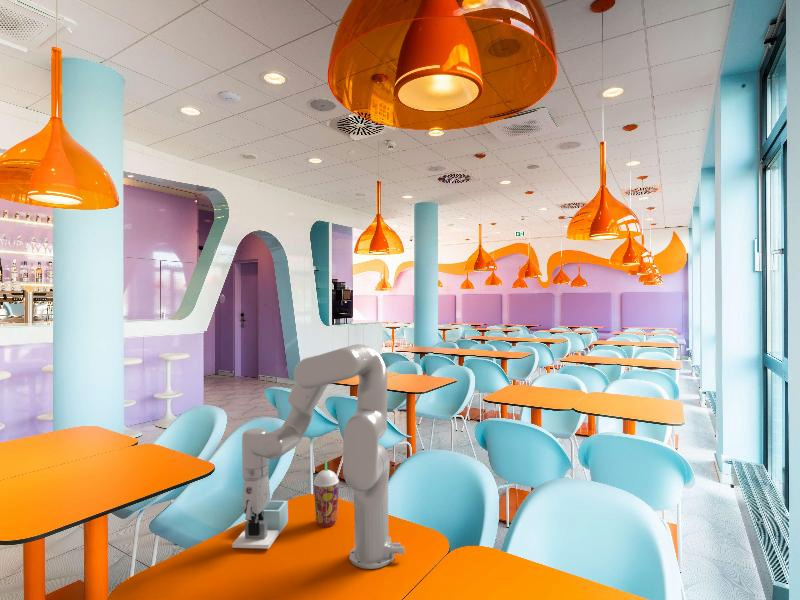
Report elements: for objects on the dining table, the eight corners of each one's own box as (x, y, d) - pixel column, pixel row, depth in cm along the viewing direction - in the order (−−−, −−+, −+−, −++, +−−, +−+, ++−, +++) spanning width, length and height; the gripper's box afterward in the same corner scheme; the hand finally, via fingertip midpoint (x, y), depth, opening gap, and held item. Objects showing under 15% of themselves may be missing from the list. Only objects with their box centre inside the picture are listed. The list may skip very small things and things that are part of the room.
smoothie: (312, 519, 157) (311, 459, 157) (337, 516, 160) (336, 456, 160) (315, 530, 149) (314, 467, 149) (341, 526, 152) (340, 464, 152)
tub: (288, 522, 156) (287, 500, 156) (279, 533, 148) (279, 511, 148) (258, 521, 156) (258, 500, 157) (248, 532, 148) (248, 510, 149)
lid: (279, 536, 146) (278, 515, 146) (268, 551, 137) (268, 529, 137) (244, 535, 147) (244, 515, 147) (232, 550, 138) (231, 528, 138)
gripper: (257, 481, 134) (257, 546, 133) (277, 462, 150) (277, 520, 149) (231, 480, 134) (232, 545, 134) (254, 462, 150) (254, 520, 150)
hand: (256, 532), depth 142 cm, fingers open, 2 cm apart
